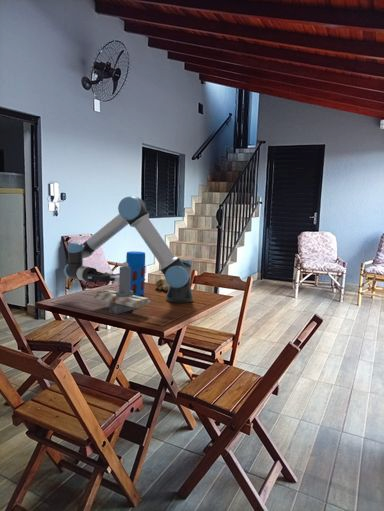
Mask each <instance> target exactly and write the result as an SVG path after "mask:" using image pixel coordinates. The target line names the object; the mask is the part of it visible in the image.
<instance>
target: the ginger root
mask: <svg viewBox="0 0 384 511" xmlns="http://www.w3.org/2000/svg"><path fill="white" fill-rule="evenodd" d="M154 286H155V287H157V289H158V290H159V291H161V290H164V291H168V290H169V287H170V285H168V283H167V282H166V280H165V278H160V279H158V280H155V285H154Z"/></svg>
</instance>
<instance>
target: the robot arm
mask: <svg viewBox="0 0 384 511" xmlns="http://www.w3.org/2000/svg"><path fill="white" fill-rule="evenodd" d="M117 210H118V214H117V215H116V216H115V217H114V218H113V219H111V220H109V222H107V223H106V224H105V225H104V226H102V227H101V228H100V229H98V230H97V232H95V233H94V234H93V235H91V236H89V238H88V239H87V240H85V241H84V242H83V243H82V242H79V241H78V242H69V243H68V246H67V264H66V265H65V266H64V269H63V275H64V276H65V277H66V278H70V279H72V280H73V279H74V280H77V281H78V280H79V281H82V282H83V283H84V282H89V283H93V282H96V281H97V282H104V283H105V282H106V283H110V282H111V283H116V284H119V276H116V274H113V273H109V272H107V271H105V272H102V271H99V270H97V268H95V267H90V266H85V265H83V264H84V262H83V261H84V259H86V258H89V257H90V256H92V255H93V254H94V252H96V250H98V249H99V248H100V247H102V246H103V245H104V244H106V243H107V242H108V241H109V240H111V239H112V238H113V237H114V236H115V235H117V234H118V233H119V232H120V231H122V230H124V229H125V228H126V227H127V226H130V227H131V228H134V229H135V230H136V232H137V233H138V235H139V236H140V237H141V239H142V240H143V241H144V243H145V245H146V246H147V247H148V249H149V250H150V251H151V253H152V255H153V256H154V258H155V259H156V261H157V262H158V263H159V266H160V271H161V273H162V274H163V276H164V279H165V280H166V282H167V283H168V285H170V287H169V290H167V293H166V297H165V299H166V301H167V302H169V303H170V302H171V303H177V304H186V303H191V302H193V301H194V296H193V292H192V288H191V282H192V281H191V279H192V278H191V276H192V273H191V272H192V266H193V265H192V261H191V260H190V259H189V260H188V259H187V260H186V259H180V257H178V256H175V255H174V253H173V252H172V251H171V249H170V248H169V246H168V244H167V243H166V242H165V240H164V239H163V237H162V236H161V234H160V233H159V232H158V229H157V228H156V227H155V226H154V224H153V223H152V221H151V220H150V218H149V217H150V213H149V212H148V210H147V205H146V202H145V201H144V200H143V199H142V198H140V197H135V196H132V195H129V196H125V197H123V198H122V199H121V200H120V201H119V204H118V206H117Z"/></svg>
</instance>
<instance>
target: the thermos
mask: <svg viewBox="0 0 384 511" xmlns="http://www.w3.org/2000/svg"><path fill="white" fill-rule="evenodd" d="M125 256H126V259H125V262H127V263H128V267H131V287H130V290H131V291H133V294H132V295H135V296H140V297H143V296H144V295H145V280H146V278H145V277H146V252H144V251H135V250H133V251H127V252H126V255H125Z"/></svg>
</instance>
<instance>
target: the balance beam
mask: <svg viewBox="0 0 384 511" xmlns="http://www.w3.org/2000/svg"><path fill="white" fill-rule="evenodd" d="M116 292H117V291H116V290H112V289H103V291H102V290H98V291H96V294H94V296H93V299H97V300H100V301H105V302H108V313H110V314H114V315H119V314H122V313H125V312H129V311H132V310H135V308H136V309H137V308H141V307H144V306H148V305H151V300H150V299H149V298H148V297H143V296H135V295H129V297H126V296H124V297H120V296H116Z"/></svg>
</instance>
